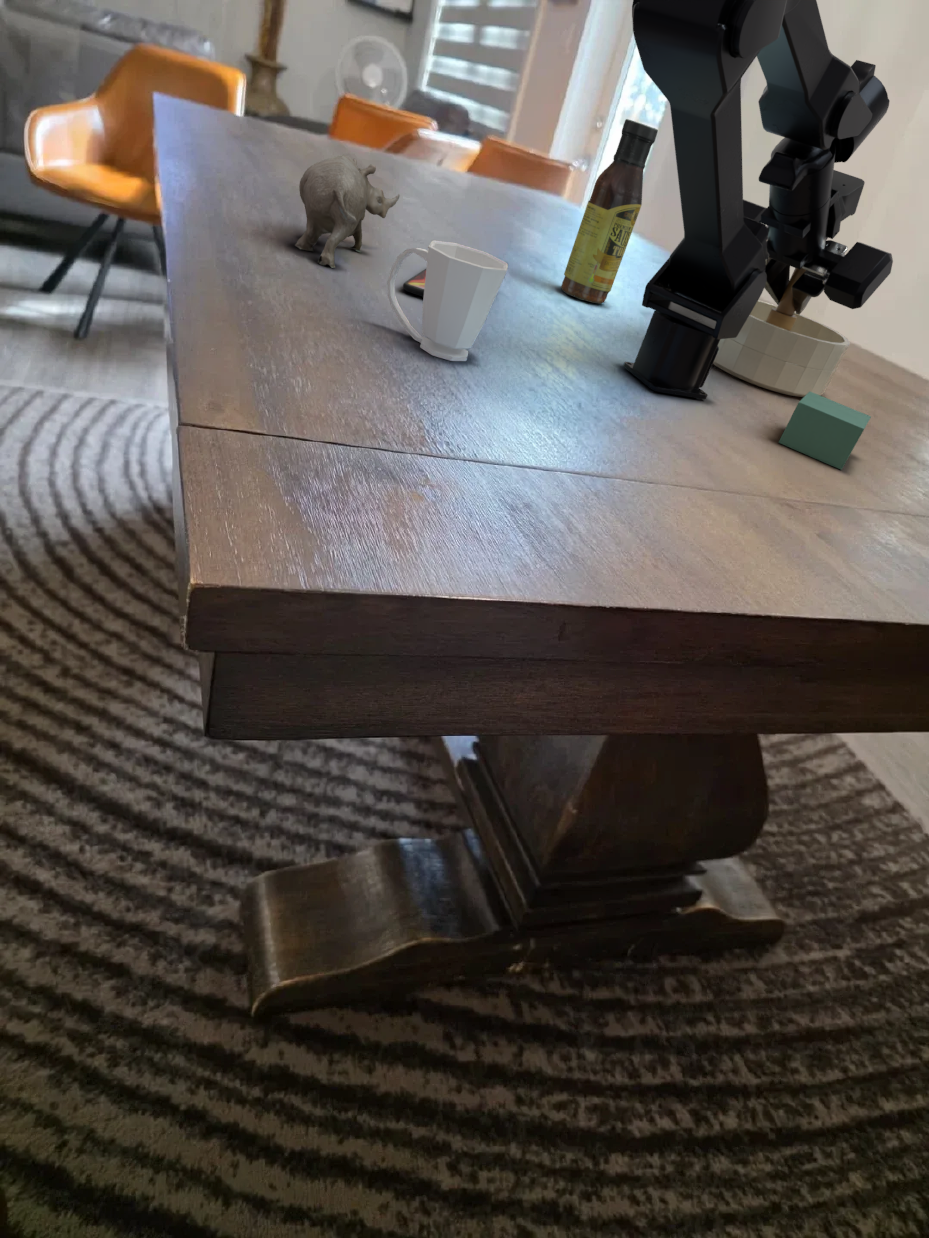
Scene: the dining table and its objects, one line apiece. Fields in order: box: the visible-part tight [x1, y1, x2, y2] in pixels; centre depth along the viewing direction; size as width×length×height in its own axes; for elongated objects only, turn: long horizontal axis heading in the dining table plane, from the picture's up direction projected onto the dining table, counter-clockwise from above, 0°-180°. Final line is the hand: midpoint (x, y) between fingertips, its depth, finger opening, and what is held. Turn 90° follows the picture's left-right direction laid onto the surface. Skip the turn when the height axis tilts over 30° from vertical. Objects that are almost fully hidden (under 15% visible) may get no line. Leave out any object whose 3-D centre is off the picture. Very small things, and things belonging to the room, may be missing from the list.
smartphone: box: [402, 268, 426, 298], centre depth 92 cm, size 8×1×15 cm
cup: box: [386, 239, 509, 362], centre depth 72 cm, size 7×10×8 cm
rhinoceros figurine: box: [294, 154, 401, 269], centre depth 90 cm, size 8×14×15 cm
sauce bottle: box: [560, 118, 659, 305], centre depth 104 cm, size 6×6×20 cm
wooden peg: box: [766, 268, 806, 331], centre depth 97 cm, size 3×3×9 cm
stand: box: [778, 392, 872, 471], centre depth 79 cm, size 6×6×4 cm
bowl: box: [712, 299, 851, 398], centre depth 99 cm, size 15×15×6 cm
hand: (791, 307), depth 98 cm, fingers closed on wooden peg, 2 cm apart
